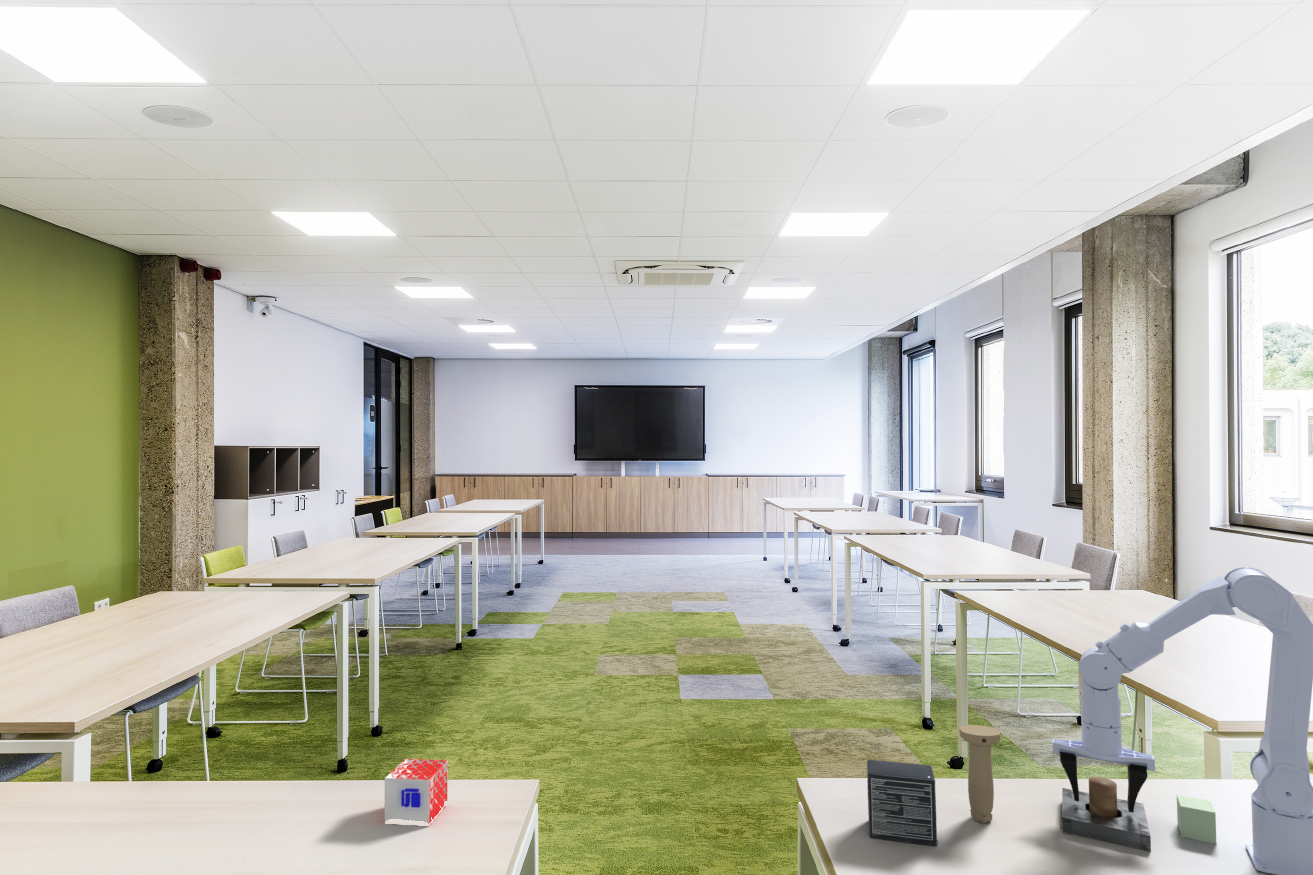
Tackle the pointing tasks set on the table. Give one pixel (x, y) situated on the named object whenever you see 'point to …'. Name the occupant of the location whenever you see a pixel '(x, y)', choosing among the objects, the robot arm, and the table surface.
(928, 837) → the small box
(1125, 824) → the socket block
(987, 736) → the handle
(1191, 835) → the square bit
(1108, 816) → the walnut peg
